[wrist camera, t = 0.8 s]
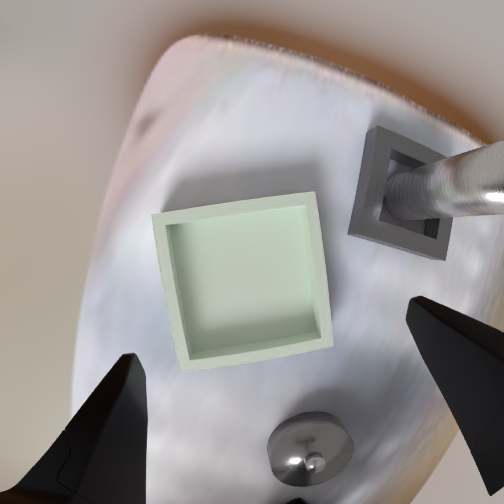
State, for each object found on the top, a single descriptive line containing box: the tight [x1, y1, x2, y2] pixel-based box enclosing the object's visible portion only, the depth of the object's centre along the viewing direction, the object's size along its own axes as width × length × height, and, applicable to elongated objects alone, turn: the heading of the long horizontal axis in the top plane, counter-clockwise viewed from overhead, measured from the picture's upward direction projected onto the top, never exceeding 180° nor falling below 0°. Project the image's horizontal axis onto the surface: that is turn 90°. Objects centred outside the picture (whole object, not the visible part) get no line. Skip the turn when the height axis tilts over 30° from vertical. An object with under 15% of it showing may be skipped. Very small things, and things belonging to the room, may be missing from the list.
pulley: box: [267, 412, 353, 487], centre depth 22 cm, size 7×7×3 cm
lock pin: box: [383, 140, 504, 221], centre depth 16 cm, size 5×5×15 cm
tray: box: [152, 191, 333, 372], centre depth 21 cm, size 11×11×2 cm
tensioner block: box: [348, 126, 453, 261], centre depth 23 cm, size 8×8×2 cm
